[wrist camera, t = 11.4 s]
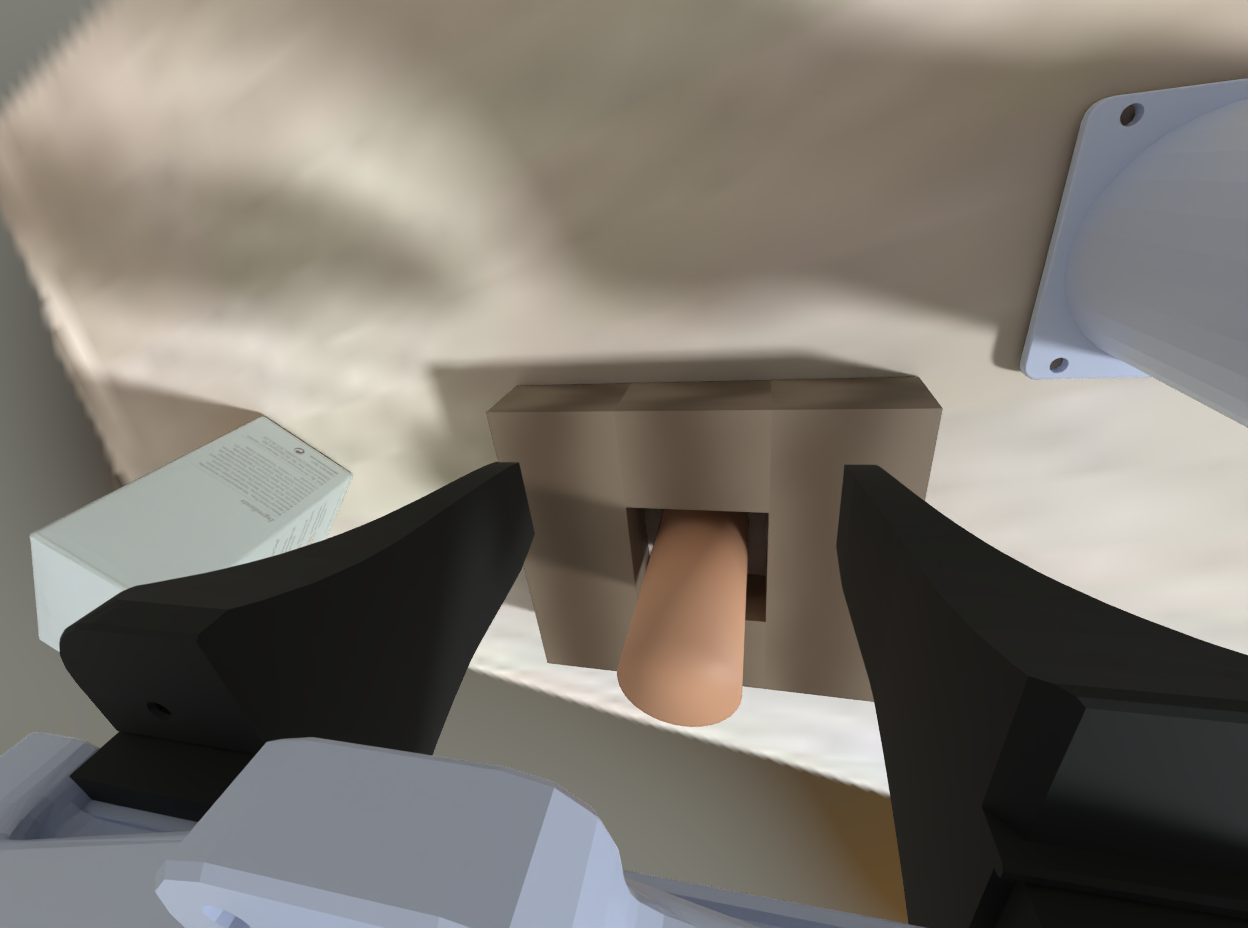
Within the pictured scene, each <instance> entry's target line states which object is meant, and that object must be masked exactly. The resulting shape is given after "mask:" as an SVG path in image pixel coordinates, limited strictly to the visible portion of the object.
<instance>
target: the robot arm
mask: <svg viewBox="0 0 1248 928" xmlns="http://www.w3.org/2000/svg"><path fill="white" fill-rule="evenodd" d="M1129 105H1133V107H1134V108H1135V116H1134V118H1133V120H1132V121H1131V122H1130V123H1129V124H1128V125H1126V126H1123V125H1122V124H1121V122H1120V116H1121V114H1122V112H1123V110H1124V109H1125V108H1126V107H1128V106H1129ZM1057 358H1063V362H1062V364H1061V365H1060V366H1059V367H1057V368H1055V369H1050V364H1051V362H1052V361H1054V360H1055V359H1057ZM1020 370H1021V371H1022V373H1023V374H1024V375H1026V376H1027V377H1029V378H1030V379H1036V380H1042V379H1091V378H1141V377H1153V378H1155V379H1157V380H1159V381H1161V382H1163V383H1165V384H1166V385H1168V386H1170V387H1172V388H1174V389H1176V390H1178V391H1180V392H1182V393H1183V394H1185V395H1187V396H1189V397H1191V398H1193V399H1195V400H1197V401H1198V402H1200V403H1202V404H1204V405H1206V406H1208V407H1210V408H1212V409H1214V410H1215V411H1217V412H1219V413H1221V414H1223V415H1225V416H1227V417H1229V418H1230V419H1232V420H1234V421H1236V422H1238V423H1240V424H1242V425H1244V426H1246V427H1247V428H1248V78H1245V79H1237V80H1230V81H1222V82H1215V83H1207V84H1199V85H1192V86H1184V87H1177V88H1169V89H1161V90H1154V91H1146V92H1139V93H1131V94H1123V95H1116V96H1111V97H1107V98H1104V99H1101V100H1099V101H1097V102H1096V103H1094V104H1093V105H1092V106H1091V107H1090V108H1089V109H1088V110H1087V111H1086V113H1085V115H1084V117H1083V119H1082V121H1081V125H1080V129H1079V133H1078V137H1077V141H1076V145H1075V149H1074V153H1073V157H1072V161H1071V165H1070V169H1069V172H1068V176H1067V180H1066V184H1065V188H1064V192H1063V196H1062V200H1061V204H1060V208H1059V212H1058V216H1057V219H1056V223H1055V227H1054V231H1053V235H1052V239H1051V243H1050V247H1049V251H1048V255H1047V259H1046V263H1045V267H1044V270H1043V274H1042V278H1041V282H1040V286H1039V290H1038V294H1037V298H1036V302H1035V306H1034V310H1033V314H1032V317H1031V321H1030V325H1029V329H1028V333H1027V337H1026V341H1025V345H1024V349H1023V353H1022V357H1021V361H1020ZM534 535H535V531H534V527H533V522H532V518H531V513H530V509H529V504H528V500H527V495H526V491H525V486H524V482H523V477H522V473H521V468H520V464H519V462H495V463H492V464H489V465H486V466H484V467H482V468H480V469H477V470H475V471H473V472H471V473H469V474H467V475H465V476H463V477H461V478H459V479H457V480H455V481H453V482H451V483H450V484H448V485H446V486H444V487H442V488H440V489H438V490H436V491H434V492H432V493H430V494H428V495H426V496H424V497H422V498H420V499H418V500H416V501H414V502H412V503H410V504H408V505H406V506H404V507H402V508H400V509H398V510H396V511H393V512H391V513H389V514H387V515H385V516H383V517H381V518H378V519H376V520H374V521H372V522H369V523H367V524H365V525H362V526H360V527H357V528H355V529H352V530H349V531H347V532H344V533H342V534H339V535H337V536H334V537H331V538H328V539H325V540H322V541H319V542H316V543H313V544H310V545H307V546H304V547H301V548H298V549H294V550H291V551H288V552H285V553H282V554H279V555H275V556H272V557H268V558H264V559H260V560H257V561H253V562H249V563H245V564H241V565H237V566H233V567H229V568H225V569H220V570H216V571H211V572H207V573H202V574H197V575H191V576H186V577H181V578H176V579H170V580H165V581H160V582H155V583H149V584H143V585H137V586H134V587H131V588H128V589H126V590H124V591H122V592H120V593H118V594H117V595H115V596H114V597H112V598H111V599H109V600H108V601H106V602H105V603H103V604H102V605H100V606H99V607H97V608H96V609H94V610H93V611H91V612H90V613H88V614H87V615H85V616H84V617H82V618H81V619H79V620H78V621H76V622H75V623H73V624H72V625H70V626H69V627H67V628H66V629H65V630H64V632H63V633H62V635H61V637H60V642H59V648H60V656H61V658H62V661H63V663H64V665H65V667H66V669H67V670H68V672H69V673H70V675H71V676H72V677H73V679H74V680H75V682H76V683H77V684H78V685H79V686H80V688H81V689H82V690H83V691H84V692H85V693H86V694H87V695H88V697H89V698H90V699H91V701H92V702H93V703H94V704H95V705H96V706H97V707H98V709H99V710H100V711H101V712H102V713H103V715H104V716H105V717H106V718H107V719H108V720H109V722H110V723H111V724H112V725H113V726H114V728H115V729H116V730H117V731H120V732H118V734H116V735H115V736H114V737H113V738H112V739H111V740H109V741H108V742H107V743H106V744H105V745H104V746H103V747H101V748H99V747H97V746H95V745H93V744H92V743H90V742H88V741H85V740H82V739H79V738H73V737H68V736H62V735H56V734H50V733H45V732H34V733H30V734H28V735H27V736H26V737H25V738H23V739H22V740H21V741H20V742H18V743H17V744H15V745H14V746H13V747H12V748H10V749H9V750H8V751H6V752H5V753H4V754H3V755H1V756H0V928H1248V655H1245V654H1242V653H1239V652H1236V651H1233V650H1229V649H1226V648H1223V647H1220V646H1217V645H1214V644H1211V643H1208V642H1205V641H1202V640H1199V639H1197V638H1194V637H1191V636H1189V635H1186V634H1183V633H1181V632H1178V631H1175V630H1173V629H1170V628H1167V627H1164V626H1162V625H1159V624H1156V623H1154V622H1151V621H1148V620H1146V619H1143V618H1141V617H1138V616H1136V615H1133V614H1131V613H1128V612H1126V611H1123V610H1121V609H1119V608H1116V607H1114V606H1111V605H1109V604H1106V603H1104V602H1102V601H1100V600H1097V599H1095V598H1093V597H1091V596H1088V595H1086V594H1084V593H1082V592H1080V591H1077V590H1075V589H1073V588H1071V587H1069V586H1066V585H1064V584H1062V583H1060V582H1058V581H1056V580H1054V579H1052V578H1050V577H1048V576H1046V575H1043V574H1041V573H1039V572H1037V571H1036V570H1034V569H1032V568H1030V567H1028V566H1026V565H1024V564H1023V563H1021V562H1019V561H1017V560H1015V559H1013V558H1012V557H1010V556H1008V555H1006V554H1004V553H1002V552H1001V551H999V550H997V549H995V548H994V547H992V546H990V545H989V544H987V543H985V542H984V541H982V540H981V539H979V538H978V537H976V536H974V535H973V534H971V533H970V532H968V531H967V530H965V529H964V528H962V527H961V526H959V525H957V524H956V523H954V522H953V521H952V520H950V519H949V518H947V517H946V516H944V515H943V514H942V513H940V512H939V511H937V510H936V509H935V508H933V507H932V506H931V505H929V504H928V503H927V502H925V501H924V500H923V499H921V498H920V497H919V496H917V495H916V494H915V493H913V492H912V491H911V490H910V489H908V488H907V487H906V486H904V485H903V484H902V483H901V482H899V481H898V480H897V479H896V478H894V477H893V476H892V475H890V474H889V473H888V472H886V471H885V470H884V469H882V468H881V467H880V466H878V465H847V464H844V474H843V484H842V493H841V503H840V513H839V523H838V532H837V542H836V549H837V556H838V564H839V571H840V577H841V584H842V589H843V592H844V596H845V599H846V603H847V606H848V610H849V613H850V617H851V620H852V624H853V627H854V631H855V634H856V637H857V641H858V644H859V648H860V651H861V654H862V658H863V661H864V665H865V668H866V672H867V675H868V678H869V682H870V686H871V690H872V694H873V699H874V703H875V708H876V714H877V719H878V725H879V731H880V736H881V742H882V748H883V753H884V760H885V766H886V772H887V778H888V784H889V790H890V796H891V803H892V809H893V816H894V823H895V829H896V836H897V843H898V850H899V856H900V863H901V870H902V877H903V884H904V892H905V900H906V908H907V915H908V923H909V924H904V923H899V922H894V921H889V920H883V919H878V918H873V917H867V916H863V915H857V914H852V913H847V912H841V911H836V910H831V909H825V908H821V907H815V906H810V905H805V904H800V903H794V902H789V901H784V900H779V899H774V898H769V897H763V896H758V895H753V894H748V893H743V892H737V891H732V890H727V889H722V888H716V887H711V886H706V885H700V884H695V883H690V882H685V881H679V880H675V879H669V878H664V877H659V876H654V875H649V874H643V873H638V872H633V871H628V870H622V865H621V860H620V855H619V850H618V848H617V846H616V844H615V843H614V841H613V840H612V838H611V836H610V834H609V833H608V831H607V830H606V828H605V826H604V825H603V823H602V822H601V820H600V819H599V817H598V815H597V814H596V812H595V810H594V809H593V808H592V807H591V806H590V805H588V804H586V803H585V802H584V801H582V800H581V799H579V798H578V797H576V796H574V795H573V794H572V793H570V792H569V791H567V790H566V789H564V788H563V787H561V786H560V785H558V784H557V783H555V782H554V781H551V780H547V779H544V778H541V777H538V776H535V775H531V774H528V773H525V772H522V771H519V770H515V769H512V768H509V767H505V766H498V765H491V764H485V763H478V762H472V761H465V760H459V759H452V758H445V757H439V756H433V752H434V749H435V746H436V744H437V741H438V738H439V736H440V734H441V731H442V728H443V726H444V723H445V721H446V718H447V716H448V713H449V711H450V708H451V706H452V703H453V701H454V698H455V695H456V694H457V691H458V689H459V687H460V684H461V682H462V680H463V677H464V675H465V673H466V670H467V668H468V666H469V663H470V661H471V659H472V657H473V655H474V653H475V651H476V650H477V648H478V646H479V644H480V642H481V640H482V638H483V637H484V635H485V633H486V631H487V630H488V628H489V626H490V624H491V623H492V621H493V619H494V617H495V616H496V614H497V612H498V610H499V609H500V607H501V605H502V603H503V602H504V600H505V598H506V596H507V595H508V593H509V591H510V589H511V587H512V586H513V584H514V582H515V580H516V578H517V576H518V575H519V573H520V571H521V569H522V567H523V564H524V562H525V559H526V557H527V554H528V552H529V549H530V546H531V543H532V540H533V538H534Z"/></svg>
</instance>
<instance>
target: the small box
mask: <svg viewBox="0 0 1248 928" xmlns="http://www.w3.org/2000/svg"><path fill="white" fill-rule="evenodd" d="M351 479H352V474H351V473H350V472H348V471H347V470H345V469H344V468H342V467H341V466H339V465H338V464H336V463H335V462H333V461H332V460H330V459H329V458H327V457H325V456H324V455H322V454H321V453H319V452H318V451H316V450H315V449H313V448H312V447H310V446H309V445H307V444H306V443H304V442H303V441H301V440H299V439H298V438H296V437H295V436H293V435H292V434H290V433H289V432H287V431H286V430H284V429H283V428H281V427H280V426H278V425H277V424H275V423H274V422H272V421H270V420H269V419H267V418H266V417H263V416H261V417H259V418H257V419H255V420H253V421H251V422H249V423H247V424H245V425H243V426H241V427H239V428H237V429H235V430H233V431H231V432H229V433H227V434H225V435H223V436H221V437H219V438H217V439H215V440H213V441H211V442H209V443H207V444H205V445H203V446H201V447H199V448H198V449H196V450H194V451H192V452H190V453H188V454H186V455H184V456H182V457H180V458H178V459H176V460H174V461H172V462H170V463H168V464H166V465H164V466H162V467H160V468H158V469H156V470H155V471H153V472H151V473H149V474H147V475H145V476H143V477H141V478H139V479H137V480H135V481H133V482H131V483H129V484H127V485H125V486H123V487H121V488H119V489H117V490H115V491H113V492H111V493H109V494H107V495H105V496H103V497H101V498H100V499H97V500H96V501H94V502H92V503H90V504H88V505H86V506H84V507H82V508H80V509H78V510H76V511H74V512H72V513H70V514H68V515H66V516H64V517H62V518H60V519H58V520H56V521H54V522H52V523H51V524H49V525H47V526H45V527H43V528H41V529H39V530H37V531H35V532H33V533H31V534H30V535H29V536H30V540H31V552H32V562H33V575H34V585H35V596H36V609H37V619H38V632H39V639H40V640H41V641H43V642H45V643H46V644H48V645H49V646H51V647H52V648H54V649H56V650H57V651H59V652H60V648H59V642H60V637H61V635H62V633H63V632H64V630H65V629H66V628H67V627H69V626H70V625H72V624H73V623H75V622H76V621H78V620H79V619H81V618H82V617H84V616H85V615H87V614H88V613H90V612H91V611H93V610H94V609H96V608H97V607H99V606H100V605H102V604H103V603H105V602H106V601H108V600H109V599H111V598H112V597H114V596H115V595H117V594H118V593H120V592H122V591H124V590H126V589H128V588H131V587H134V586H137V585H143V584H149V583H155V582H160V581H165V580H170V579H176V578H181V577H186V576H191V575H197V574H202V573H207V572H211V571H216V570H220V569H225V568H229V567H233V566H237V565H241V564H245V563H249V562H253V561H257V560H260V559H264V558H268V557H272V556H275V555H279V554H282V553H285V552H288V551H291V550H294V549H298V548H301V547H304V546H307V545H310V544H313V543H316V542H319V541H322V540H325V539H326V538H327V536H328V534H329V531H330V529H331V526H332V524H333V521H334V519H335V517H336V514H337V512H338V510H339V507H340V505H341V502H342V500H343V497H344V495H345V493H346V490H347V488H348V485H349V483H350V481H351Z"/></svg>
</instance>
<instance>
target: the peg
mask: <svg viewBox="0 0 1248 928" xmlns="http://www.w3.org/2000/svg"><path fill="white" fill-rule="evenodd" d="M748 535H749V520H748V516H747V514H746V512H735V511H709V510H683V509H664V511H663V514H662V518H661V521H660V525H659V528H658V532H657V535H656V538H655V542H654V545H653V549H652V552H651V556H650V559H649V562H648V566H647V569H646V573H645V576H644V579H643V583H642V586H641V590H640V593H639V597H638V600H637V603H636V607H635V610H634V614H633V617H632V621H631V624H630V627H629V631H628V634H627V638H626V641H625V645H624V648H623V651H622V655H621V658H620V662H619V665H618V669H617V677H618V682H619V685H620V687H621V689H622V691H623V693H624V694H625V696H626V697H627V698H628V699H629V700H630V701H631V702H632V703H633V704H634V705H635V706H636V707H637V708H639V709H640V710H641V711H643V712H644V713H646V714H648V715H650V716H652V717H653V718H656V719H658V720H661V721H664V722H667V723H670V724H674V725H680V726H689V727H700V726H708V725H713V724H716V723H719V722H721V721H723V720H725V719H727V718H728V717H730V716H731V715H732V714H733V713H734V712H735V711H736V710H737V708H738V707H739V705H740V703H741V699H742V683H743V658H744V634H745V609H746V585H747V560H748Z"/></svg>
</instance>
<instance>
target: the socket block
mask: <svg viewBox="0 0 1248 928" xmlns="http://www.w3.org/2000/svg"><path fill="white" fill-rule="evenodd" d="M942 409H943V408H942V407H941V406H940V404H939V403H938V402H937V400H936V399H935V398H934V396H933V395H932V394H931V392H930V391H929V390H928V388H927V387H926V386H925V384H924V383H923V382H922V380H921V379H920V378H919V377H885V378H840V379H796V380H751V381H706V382H662V383H617V384H573V385H528V386H516V387H515V388H514V389H513V390H511V391H510V392H509V393H508V394H507V395H506V396H504V397H503V398H502V399H501V400H500V401H499V402H498V403H496V404H495V405H494V406H493V407H492V408H491V409H490V410H488V411H487V412H486V414H487V418H488V422H489V426H490V430H491V434H492V438H493V442H494V446H495V450H496V454H497V458H498V462H519V464H520V468H521V473H522V477H523V482H524V486H525V491H526V495H527V500H528V504H529V509H530V513H531V518H532V522H533V527H534V531H535V535H534V538H533V540H532V543H531V546H530V549H529V552H528V554H527V557H526V559H525V562H524V564H523V565H524V569H525V573H526V577H527V581H528V585H529V589H530V593H531V597H532V601H533V605H534V609H535V614H536V618H537V622H538V626H539V630H540V634H541V638H542V642H543V646H544V650H545V654H546V658H547V663H552V664H560V665H569V666H577V667H586V668H594V669H602V670H611V671H617V669H618V665H619V662H620V658H621V655H622V651H623V648H624V645H625V641H626V638H627V634H628V631H629V627H630V624H631V621H632V617H633V614H634V610H635V607H636V603H637V600H638V597H639V593H640V590H641V586H642V583H643V579H644V576H645V573H646V569H647V566H648V562H649V550H648V540H647V531H646V521H645V511H644V508H657V509H683V510H709V511H735V512H761V513H767V541H766V576H758V575H747V585H746V609H745V634H744V658H743V683H742V686H745V687H754V688H762V689H770V690H779V691H787V692H796V693H804V694H812V695H821V696H829V697H838V698H846V699H854V700H863V701H871V702H874V699H873V694H872V690H871V686H870V682H869V678H868V675H867V672H866V668H865V665H864V661H863V658H862V654H861V651H860V648H859V644H858V641H857V637H856V634H855V631H854V627H853V624H852V620H851V617H850V613H849V610H848V606H847V603H846V599H845V596H844V592H843V589H842V584H841V577H840V571H839V564H838V556H837V549H836V542H837V532H838V523H839V513H840V503H841V493H842V484H843V474H844V464H847V465H878V466H880V467H881V468H882V469H884V470H885V471H886V472H888V473H889V474H890V475H892V476H893V477H894V478H896V479H897V480H898V481H899V482H901V483H902V484H903V485H904V486H906V487H907V488H908V489H910V490H911V491H912V492H913V493H915V494H916V495H917V496H919V497H920V498H921V499H923V500H924V501H925V497H926V492H927V487H928V482H929V476H930V471H931V466H932V461H933V456H934V450H935V445H936V440H937V435H938V430H939V424H940V419H941V414H942Z"/></svg>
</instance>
